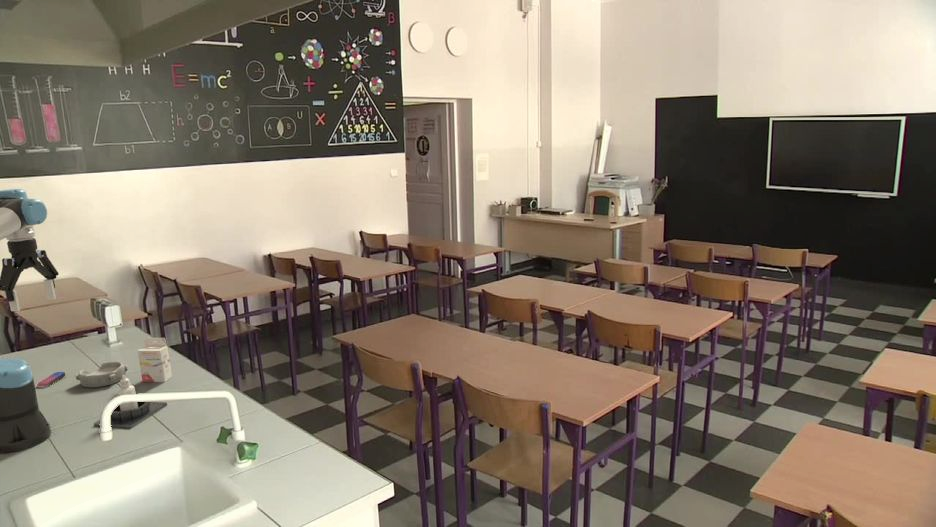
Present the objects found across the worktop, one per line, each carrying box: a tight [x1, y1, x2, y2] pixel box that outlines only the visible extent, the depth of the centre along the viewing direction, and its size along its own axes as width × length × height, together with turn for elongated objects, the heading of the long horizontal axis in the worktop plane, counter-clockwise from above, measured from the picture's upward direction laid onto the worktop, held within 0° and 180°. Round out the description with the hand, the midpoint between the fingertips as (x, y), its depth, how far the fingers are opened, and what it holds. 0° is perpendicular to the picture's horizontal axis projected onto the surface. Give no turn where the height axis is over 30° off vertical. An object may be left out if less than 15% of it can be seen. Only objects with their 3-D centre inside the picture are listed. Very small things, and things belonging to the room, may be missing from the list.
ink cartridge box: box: [137, 337, 173, 383], centre depth 228 cm, size 9×5×15 cm, turn 84°
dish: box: [74, 361, 129, 388], centre depth 230 cm, size 14×14×5 cm
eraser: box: [37, 371, 66, 389], centre depth 232 cm, size 11×4×2 cm, turn 177°
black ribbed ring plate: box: [93, 401, 168, 429], centre depth 201 cm, size 16×13×3 cm
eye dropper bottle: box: [117, 375, 138, 412], centre depth 200 cm, size 4×6×12 cm
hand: (34, 304), depth 209 cm, fingers open, 13 cm apart
